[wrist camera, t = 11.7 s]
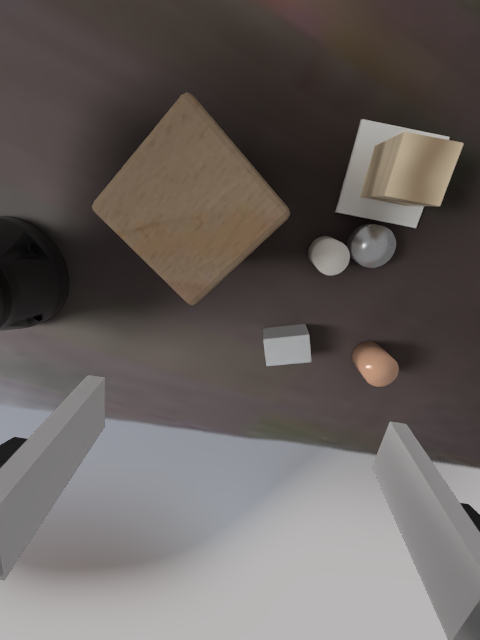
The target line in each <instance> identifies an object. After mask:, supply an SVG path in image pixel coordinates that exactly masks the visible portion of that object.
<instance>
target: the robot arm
mask: <svg viewBox="0 0 480 640" xmlns="http://www.w3.org/2000/svg"><path fill="white" fill-rule="evenodd" d="M68 284H69V283H68V273H67V269H66V266H65V263H64V260H63V258H62V256H61V254H60V253H59V251H58V249H57V248H56V246H55V245H54V244H53V243H52V241H51V240H50V239H49V238H48V237H47V236H46V235H45V234H44V233H42V232H41V231H40V230H39V229H37V228H36V227H34V226H33V225H31V224H29V223H27V222H25V221H23V220H20V219H17V218H13V217H7V216H0V330H11V329H21V328H28V327H32V326H35V325H38V324H40V323H42V322H44V321H46V320H47V319H49V318H51V317H52V316H54V315H55V314H56V313H57V312H58V311H59V310H60V309H61V307H62V306H63V304H64V302H65V300H66V297H67V293H68ZM104 427H105V378H104V377H98V376H91V375H88V376H87V377H86V378H85V379H84V380H83V381H82V382H81V383H80V384H79V385H78V386H77V387H76V388H75V389H74V390H73V391H72V393H71V394H70V395H69V396H68V397H67V398H66V399H65V400H64V401H63V402H62V403H61V404H60V405H59V406H58V407H57V409H56V410H55V411H54V412H53V413H52V414H51V415H50V416H49V417H48V418H47V419H46V420H45V421H44V422H43V424H42V425H41V426H40V427H39V428H38V429H37V430H36V431H35V432H34V433H33V434H32V435H31V436H30V437H29V438H28V439H24V438H18V437H14V438H12V439H10V440H8V441H7V442H5V443H3V444H1V445H0V580H5V579H6V577H7V576H8V574H9V573H10V571H11V569H12V568H13V567H14V565H15V564H16V562H17V561H18V559H19V557H20V556H21V554H22V552H23V551H24V550H25V548H26V547H27V545H28V544H29V542H30V541H31V539H32V538H33V536H34V534H35V532H36V531H37V530H38V528H39V527H40V525H41V524H42V522H43V520H44V519H45V517H46V516H47V515H48V513H49V511H50V510H51V508H52V507H53V505H54V504H55V502H56V501H57V499H58V498H59V496H60V495H61V493H62V492H63V490H64V488H65V487H66V485H67V484H68V482H69V481H70V479H71V478H72V476H73V475H74V473H75V472H76V470H77V468H78V467H79V465H80V464H81V462H82V461H83V459H84V458H85V456H86V455H87V453H88V452H89V450H90V449H91V447H92V446H93V444H94V442H95V441H96V439H97V438H98V436H99V435H100V433H101V432H102V430H103V429H104ZM372 469H373V471H374V473H375V475H376V478H377V480H378V482H379V484H380V487H381V489H382V491H383V494H384V496H385V498H386V500H387V503H388V505H389V507H390V509H391V512H392V514H393V516H394V518H395V521H396V523H397V525H398V527H399V530H400V532H401V534H402V537H403V539H404V541H405V543H406V546H407V548H408V550H409V552H410V554H411V557H412V559H413V561H414V564H415V566H416V568H417V570H418V573H419V575H420V577H421V579H422V582H423V584H424V586H425V589H426V591H427V593H428V595H429V598H430V600H431V602H432V604H433V607H434V609H435V611H436V613H437V616H438V618H439V620H440V622H441V625H442V627H443V629H444V632H445V634H446V636H447V638H448V640H480V515H479V514H478V513H477V512H476V511H475V510H474V509H473V508H472V507H471V506H470V505H469V504H463V503H459V501H458V500H457V498H456V497H455V495H454V494H453V492H452V491H451V489H450V488H449V486H448V485H447V484H446V482H445V480H444V479H443V478H442V476H441V475H440V473H439V472H438V470H437V469H436V467H435V466H434V464H433V463H432V461H431V460H430V458H429V457H428V455H427V454H426V452H425V451H424V450H423V448H422V447H421V445H420V444H419V442H418V441H417V439H416V438H415V436H414V435H413V433H412V432H411V430H410V429H409V427H408V426H407V424H402V423H396V422H390V423H389V425H388V428H387V430H386V433H385V435H384V438H383V440H382V443H381V445H380V448H379V450H378V453H377V456H376V458H375V461H374V464H373V466H372Z"/></svg>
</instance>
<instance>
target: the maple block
mask: <svg viewBox="0 0 480 640" xmlns="http://www.w3.org/2000/svg"><path fill="white" fill-rule="evenodd" d="M463 144H464V143H461V142H456V141H451V140H446V139H440V138H435V137H430V136H425V135H420V134H414V133H409V132H403V133H401V134H399V135H396V136H394V137H392V138H390V139H388V140H386V141H384V142H382V143H380V144H378V145H376V146H375V147H374V151H373V154H372V157H371V161H370V164H369V168H368V171H367V175H366V178H365V181H364V185H363V188H362V192H361V195H360V197H363V198H368V199H373V200H379V201H384V202H389V203H394V204H399V205H405V206H440V205H441V202H442V200H443V197H444V194H445V192H446V189H447V187H448V184H449V181H450V179H451V176H452V173H453V171H454V168H455V165H456V163H457V160H458V157H459V155H460V152H461V149H462V147H463Z"/></svg>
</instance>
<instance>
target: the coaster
mask: <svg viewBox="0 0 480 640" xmlns="http://www.w3.org/2000/svg"><path fill="white" fill-rule="evenodd" d="M403 132H409V133H414V134H420V135H425V136H430V137H435V138H440V139H446V140H449V138H450V137H447V136H442V135H438V134H433V133H428V132H423V131H418V130H413V129H408V128H403V127H399V126H394V125H389V124H384V123H379V122H374V121H369V120H364V119H362V120H361V121H360V125H359V128H358V132H357V135H356V139H355V143H354V146H353V150H352V153H351V157H350V161H349V164H348V168H347V171H346V175H345V179H344V182H343V186H342V189H341V193H340V196H339V200H338V204H337V207H336V211H335V212H338V213H343V214H348V215H352V216H357V217H362V218H367V219H372V220H377V221H382V222H387V223H392V224H397V225H402V226H407V227H412V228H416V227H417V224H418V222H419V219H420V216H421V213H422V211H423V208H424V206H405V205H399V204H394V203H389V202H384V201H379V200H373V199H368V198H363V197H360V195H361V192H362V188H363V185H364V181H365V178H366V175H367V171H368V168H369V164H370V161H371V157H372V154H373V151H374V147H375V146H376V145H378V144H380V143H382V142H384V141H386V140H388V139H390V138H392V137H394V136H396V135H399V134H401V133H403Z"/></svg>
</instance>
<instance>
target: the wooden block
mask: <svg viewBox="0 0 480 640" xmlns="http://www.w3.org/2000/svg"><path fill="white" fill-rule="evenodd" d="M92 209H93V210H94V212H95V213H96V214H97V215H98V216H99V217H100V218H101V219H102V220H103V221H104V222H105V223H106V224H107V225H108V226H109V227H110V228H111V229H112V230H113V231H114V232H115V233H116V234H117V235H118V236H120V237H121V238H122V239H123V240H124V241H125V242H126V243H127V244H128V245H129V246H130V247H131V248H132V249H133V250H134V251H135V252H136V253H137V254H138V255H139V256H140V257H141V258H142V259H143V260H144V261H145V262H146V263H147V264H148V265H149V266H150V267H151V268H152V269H153V270H154V271H155V272H156V273H157V274H158V275H159V276H160V277H161V278H162V279H163V280H164V281H165V282H166V283H167V284H168V285H169V286H170V287H171V288H172V289H173V290H174V291H175V292H176V293H177V294H178V295H179V296H181V297H182V298H183V299H184V300H185V301H186V302H187V303H188V304H190V305H195V304H197V303H198V302H199V301H200V300H201V299H202V298H204V297H205V296H206V295H207V294H208V293H209V292H210V291H211V290H212V289H213V288H214V287H215V286H216V285H217V284H219V283H220V282H221V281H222V280H223V279H224V278H225V277H226V276H227V275H228V274H229V273H230V272H231V271H232V270H234V269H235V268H236V267H237V266H238V265H239V264H240V263H241V262H242V261H243V260H244V259H245V258H246V257H248V256H249V255H250V254H251V253H252V252H253V251H254V250H255V249H256V248H257V247H258V246H259V245H260V244H261V243H263V242H264V241H265V240H266V239H267V238H268V237H269V236H270V235H271V234H272V233H273V232H274V231H275V230H276V229H278V228H279V227H280V226H281V225H282V224H283V223H284V222H285V221H286V220H287V219H288V217H289V215H290V212H289V208H288V207H287V206H286V205H285V203H284V202H283V201H282V200H281V199H280V198H279V196H278V195H277V194H276V193H275V192H274V190H273V189H272V188H271V187H270V186H269V185H268V183H267V182H266V181H265V180H264V179H263V177H262V176H261V175H260V174H259V173H258V172H257V170H256V169H255V168H254V167H253V166H252V164H251V163H250V162H249V161H248V160H247V159H246V157H245V156H244V155H243V154H242V153H241V151H240V150H239V149H238V148H237V147H236V146H235V144H234V143H233V142H232V141H231V140H230V138H229V137H228V136H227V135H226V134H225V132H224V131H223V130H222V129H221V128H220V127H219V125H218V124H217V123H216V122H215V121H214V119H213V118H212V117H211V116H210V115H209V114H208V112H207V111H206V110H205V109H204V108H203V106H202V105H201V104H200V103H199V102H198V101H197V99H196V98H195V97H194V96H193V95H192V94H190V93H188V92H186V93H185V94H183V95H181V96H180V98H179V99H178V100H177V101H176V102H175V104H174V105H173V106H172V107H171V108H170V110H169V111H168V112H167V113H166V115H165V116H164V117H163V118H162V119H161V121H160V122H159V123H158V124H157V126H156V127H155V128H154V129H153V130H152V132H151V133H150V134H149V135H148V137H147V138H146V139H145V140H144V141H143V143H142V144H141V145H140V146H139V147H138V149H137V150H136V151H135V152H134V154H133V155H132V156H131V157H130V158H129V160H128V161H127V162H126V163H125V165H124V166H123V167H122V168H121V169H120V171H119V172H118V173H117V174H116V176H115V177H114V178H113V179H112V180H111V182H110V183H109V184H108V185H107V186H106V188H105V189H104V190H103V191H102V193H101V194H100V195H99V196H98V197H97V199H96V200H95V201H94V203H93V205H92Z"/></svg>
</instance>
